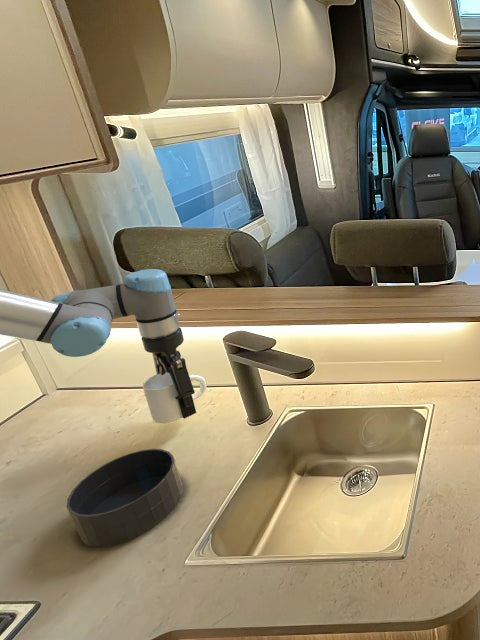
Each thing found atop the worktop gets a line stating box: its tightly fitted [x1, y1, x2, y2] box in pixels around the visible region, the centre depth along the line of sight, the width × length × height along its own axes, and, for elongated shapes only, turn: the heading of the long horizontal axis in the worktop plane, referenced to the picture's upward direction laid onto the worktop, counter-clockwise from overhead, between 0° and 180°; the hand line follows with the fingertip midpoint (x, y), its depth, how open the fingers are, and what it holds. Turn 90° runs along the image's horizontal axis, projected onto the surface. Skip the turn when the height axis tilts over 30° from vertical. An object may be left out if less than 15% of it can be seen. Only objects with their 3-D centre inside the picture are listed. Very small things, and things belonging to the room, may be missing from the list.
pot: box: [66, 448, 184, 548], centre depth 84 cm, size 16×16×8 cm
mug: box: [142, 373, 207, 424], centre depth 106 cm, size 12×8×10 cm
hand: (182, 408), depth 107 cm, fingers closed on mug, 8 cm apart
